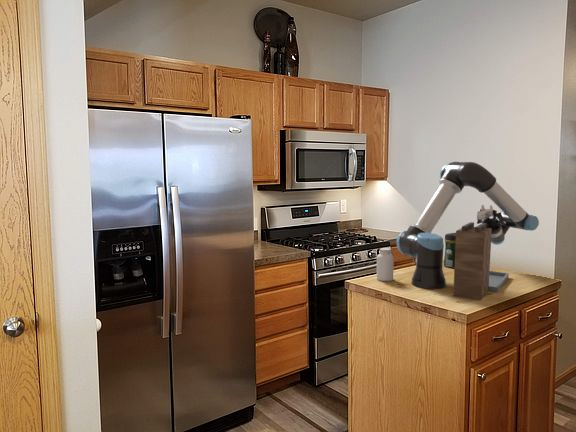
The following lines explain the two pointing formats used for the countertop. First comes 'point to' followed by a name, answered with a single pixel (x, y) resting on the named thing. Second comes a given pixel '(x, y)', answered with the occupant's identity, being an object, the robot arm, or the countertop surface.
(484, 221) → the robot arm
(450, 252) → the coffee jar
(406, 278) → the countertop surface
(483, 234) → the walnut stand
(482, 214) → the steel bar
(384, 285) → the countertop surface
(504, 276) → the slate tray
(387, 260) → the pill bottle
